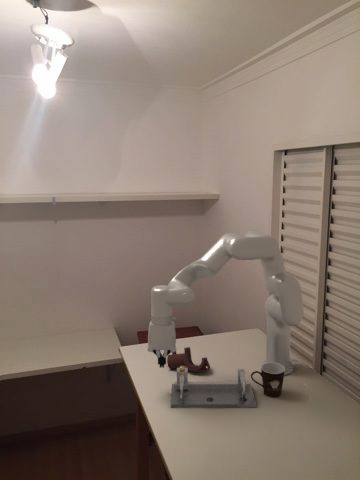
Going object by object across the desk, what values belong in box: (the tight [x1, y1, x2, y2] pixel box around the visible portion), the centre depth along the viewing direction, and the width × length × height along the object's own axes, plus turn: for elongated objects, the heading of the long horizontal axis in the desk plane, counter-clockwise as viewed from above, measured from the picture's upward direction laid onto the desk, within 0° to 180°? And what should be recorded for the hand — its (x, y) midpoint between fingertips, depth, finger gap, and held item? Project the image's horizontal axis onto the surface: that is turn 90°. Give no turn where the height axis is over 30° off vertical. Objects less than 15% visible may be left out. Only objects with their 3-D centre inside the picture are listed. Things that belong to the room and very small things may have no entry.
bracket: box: [166, 346, 211, 373], centre depth 175 cm, size 6×17×10 cm, turn 76°
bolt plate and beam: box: [170, 368, 257, 409], centre depth 154 cm, size 30×14×8 cm, turn 88°
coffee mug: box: [250, 362, 285, 399], centre depth 157 cm, size 12×9×10 cm
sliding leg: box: [176, 366, 189, 399], centre depth 155 cm, size 4×10×8 cm, turn 178°
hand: (162, 365), depth 158 cm, fingers closed
